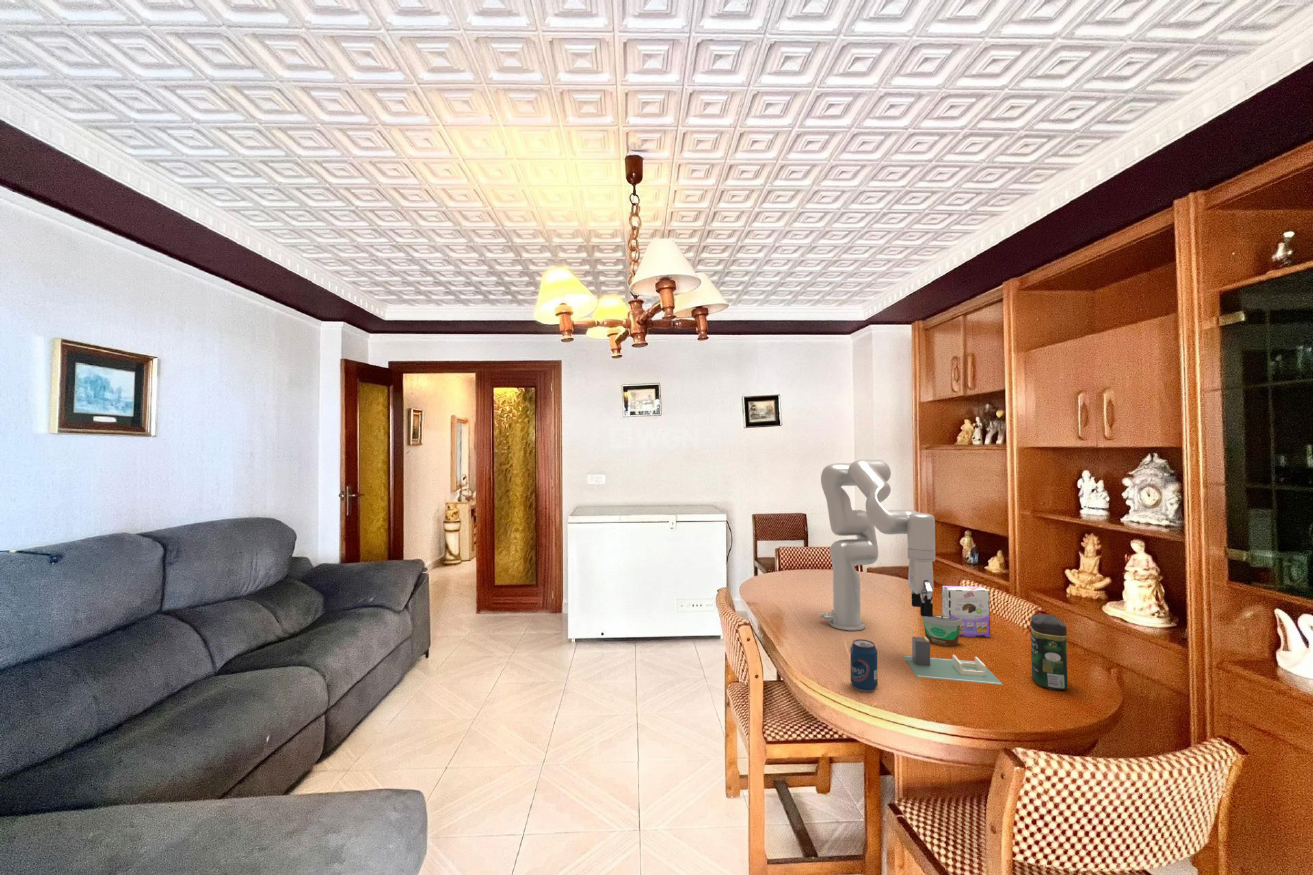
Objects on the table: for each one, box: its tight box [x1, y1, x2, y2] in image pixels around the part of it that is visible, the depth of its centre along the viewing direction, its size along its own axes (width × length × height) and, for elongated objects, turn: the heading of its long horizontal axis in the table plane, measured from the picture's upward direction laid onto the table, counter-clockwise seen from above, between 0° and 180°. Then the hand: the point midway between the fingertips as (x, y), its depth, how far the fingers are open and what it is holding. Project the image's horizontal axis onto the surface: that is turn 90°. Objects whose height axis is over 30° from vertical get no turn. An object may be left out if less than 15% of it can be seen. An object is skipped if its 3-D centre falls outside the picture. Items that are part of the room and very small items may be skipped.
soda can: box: [849, 638, 879, 693], centre depth 146 cm, size 7×7×12 cm
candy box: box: [941, 585, 991, 638], centre depth 187 cm, size 14×6×16 cm, turn 84°
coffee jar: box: [1030, 613, 1069, 691], centre depth 148 cm, size 10×8×19 cm
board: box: [902, 654, 1004, 686], centre depth 154 cm, size 22×16×1 cm
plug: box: [911, 636, 931, 666], centre depth 159 cm, size 4×4×7 cm
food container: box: [920, 614, 963, 647], centre depth 175 cm, size 12×6×10 cm, turn 62°
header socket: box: [952, 654, 987, 677], centre depth 153 cm, size 7×7×3 cm
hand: (921, 611), depth 159 cm, fingers open, 9 cm apart
